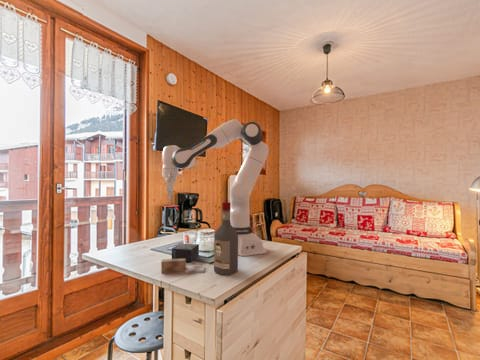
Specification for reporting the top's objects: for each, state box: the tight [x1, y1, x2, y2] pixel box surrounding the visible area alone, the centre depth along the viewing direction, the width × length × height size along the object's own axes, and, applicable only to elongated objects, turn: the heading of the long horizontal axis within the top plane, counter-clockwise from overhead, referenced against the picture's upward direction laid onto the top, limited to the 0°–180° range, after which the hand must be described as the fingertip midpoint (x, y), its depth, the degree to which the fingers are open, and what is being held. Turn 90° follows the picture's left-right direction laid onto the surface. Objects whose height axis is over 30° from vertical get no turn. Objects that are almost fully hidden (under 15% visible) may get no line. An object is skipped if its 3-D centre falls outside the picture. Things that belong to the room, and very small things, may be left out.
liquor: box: [213, 201, 239, 277], centre depth 107 cm, size 9×9×30 cm
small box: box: [171, 243, 200, 263], centre depth 124 cm, size 11×6×10 cm
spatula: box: [160, 258, 205, 274], centre depth 107 cm, size 18×6×5 cm, turn 99°
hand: (170, 198), depth 138 cm, fingers open, 8 cm apart
